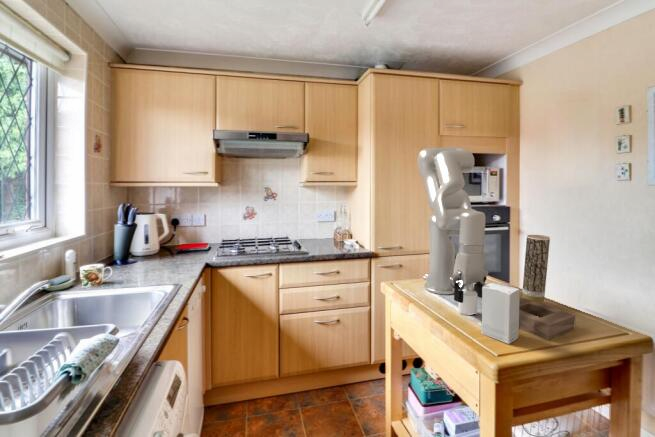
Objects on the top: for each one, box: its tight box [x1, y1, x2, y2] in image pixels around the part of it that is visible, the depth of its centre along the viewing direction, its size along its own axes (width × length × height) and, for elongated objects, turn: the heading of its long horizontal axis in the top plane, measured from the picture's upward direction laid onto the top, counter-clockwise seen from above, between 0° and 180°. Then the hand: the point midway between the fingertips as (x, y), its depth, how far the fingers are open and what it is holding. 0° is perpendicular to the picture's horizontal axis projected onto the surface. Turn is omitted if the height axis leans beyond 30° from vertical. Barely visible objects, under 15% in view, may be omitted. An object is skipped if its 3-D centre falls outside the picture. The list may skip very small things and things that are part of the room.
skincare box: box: [481, 282, 521, 345], centre depth 93 cm, size 8×6×15 cm
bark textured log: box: [521, 234, 551, 305], centre depth 115 cm, size 7×7×25 cm
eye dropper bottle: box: [457, 283, 478, 316], centre depth 109 cm, size 4×6×12 cm
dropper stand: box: [519, 297, 576, 341], centre depth 102 cm, size 16×14×4 cm
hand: (468, 298), depth 109 cm, fingers open, 9 cm apart
